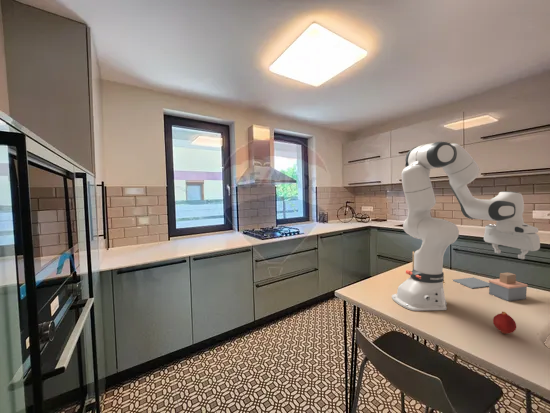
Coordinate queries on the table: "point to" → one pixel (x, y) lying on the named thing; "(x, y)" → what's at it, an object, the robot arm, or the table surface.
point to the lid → (508, 281)
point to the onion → (504, 323)
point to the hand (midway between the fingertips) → (508, 255)
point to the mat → (472, 282)
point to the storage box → (507, 292)
